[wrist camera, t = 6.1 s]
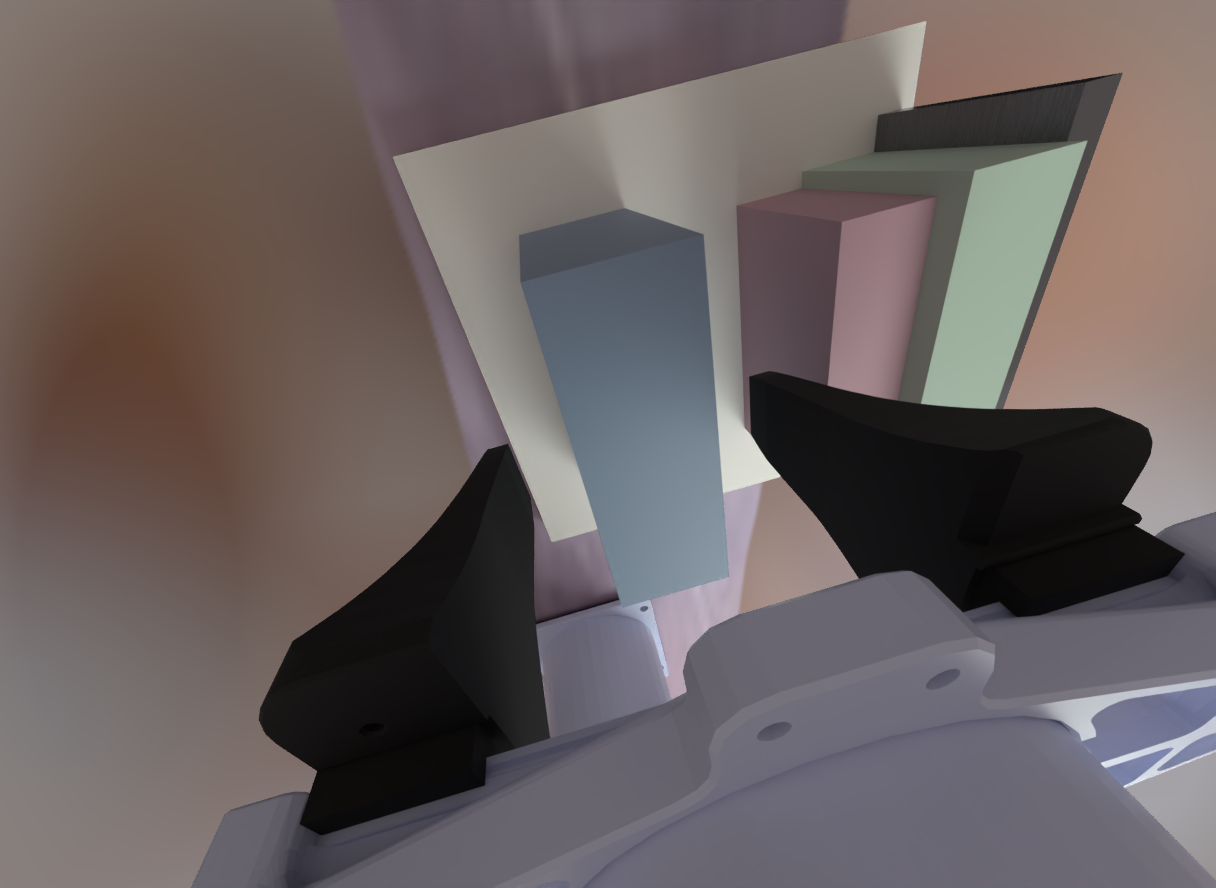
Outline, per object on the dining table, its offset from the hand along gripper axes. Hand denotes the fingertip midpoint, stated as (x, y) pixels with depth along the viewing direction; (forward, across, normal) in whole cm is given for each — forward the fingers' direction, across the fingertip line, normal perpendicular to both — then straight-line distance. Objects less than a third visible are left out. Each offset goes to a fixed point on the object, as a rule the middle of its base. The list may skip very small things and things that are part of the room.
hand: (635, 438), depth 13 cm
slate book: (+5, 0, 0) cm, 5 cm away
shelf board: (+6, -4, 0) cm, 7 cm away
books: (+5, -8, 0) cm, 9 cm away
